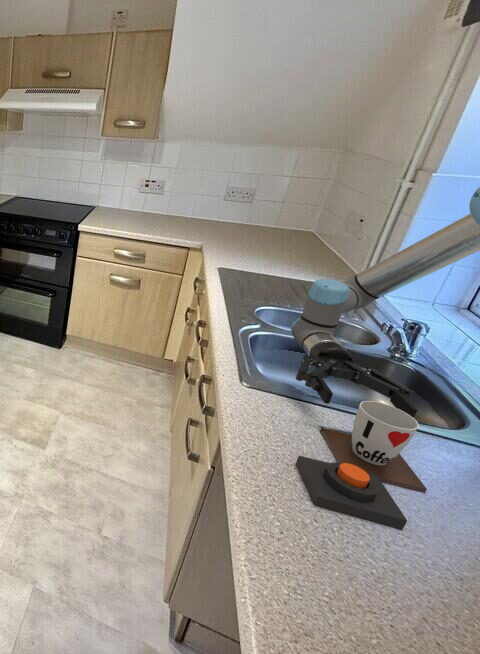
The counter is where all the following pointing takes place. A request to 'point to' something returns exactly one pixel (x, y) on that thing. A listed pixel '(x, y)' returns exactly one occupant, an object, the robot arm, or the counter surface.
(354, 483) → the console button
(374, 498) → the console
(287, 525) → the counter surface
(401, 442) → the cup
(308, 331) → the robot arm
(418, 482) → the trivet
